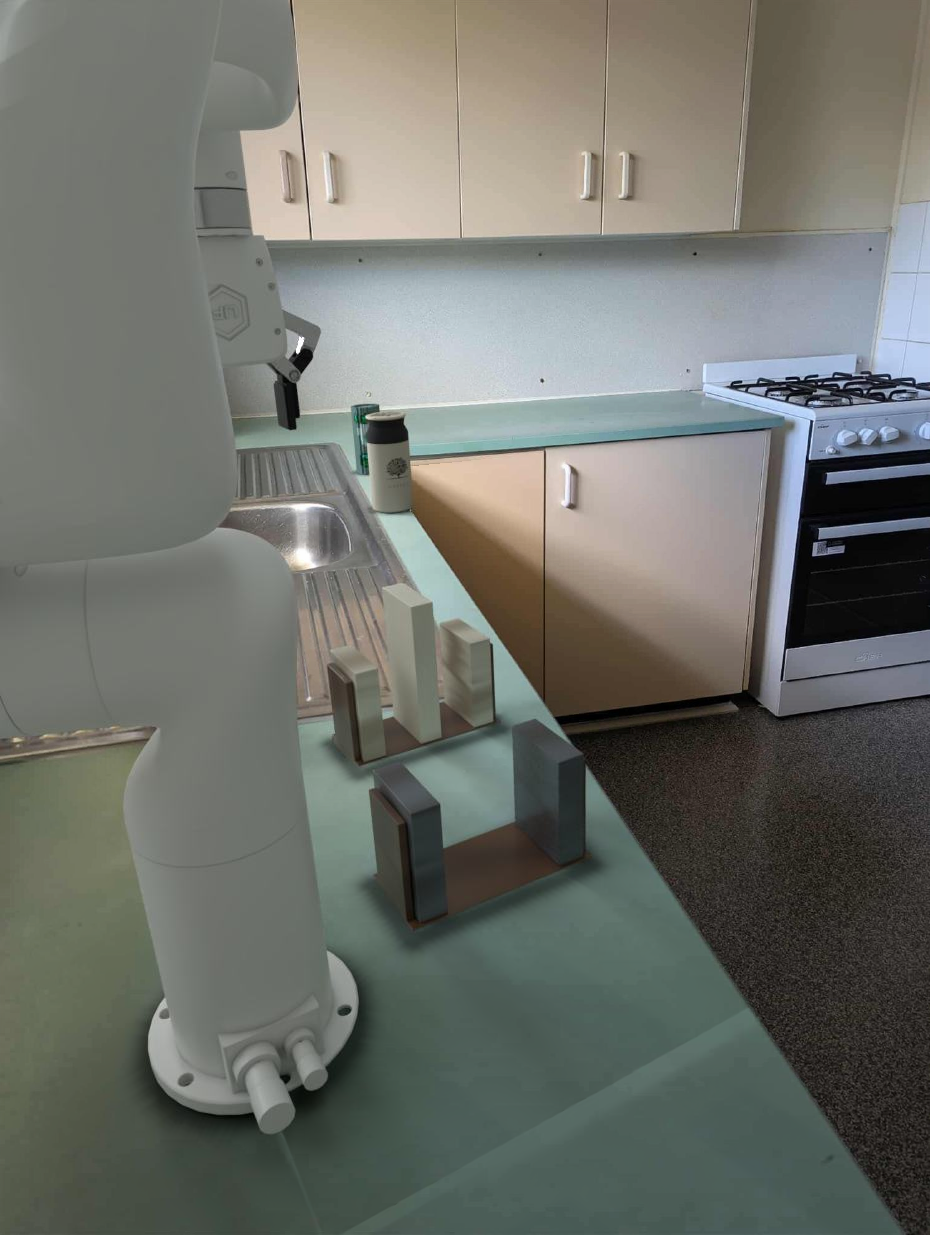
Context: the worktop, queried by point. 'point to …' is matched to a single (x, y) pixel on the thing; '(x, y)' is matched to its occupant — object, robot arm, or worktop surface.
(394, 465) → the travel mug
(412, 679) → the white book
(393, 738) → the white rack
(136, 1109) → the worktop surface
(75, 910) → the worktop surface
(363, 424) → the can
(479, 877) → the grey rack
